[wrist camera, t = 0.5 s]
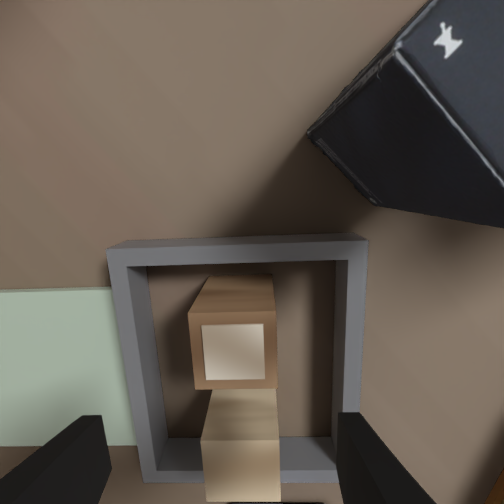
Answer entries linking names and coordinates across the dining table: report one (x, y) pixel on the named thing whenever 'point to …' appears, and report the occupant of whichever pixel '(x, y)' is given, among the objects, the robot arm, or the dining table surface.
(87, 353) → the pad
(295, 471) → the parts bin
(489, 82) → the small box
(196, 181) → the dining table surface
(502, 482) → the diary
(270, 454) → the maple block
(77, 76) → the dining table surface
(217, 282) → the walnut block
